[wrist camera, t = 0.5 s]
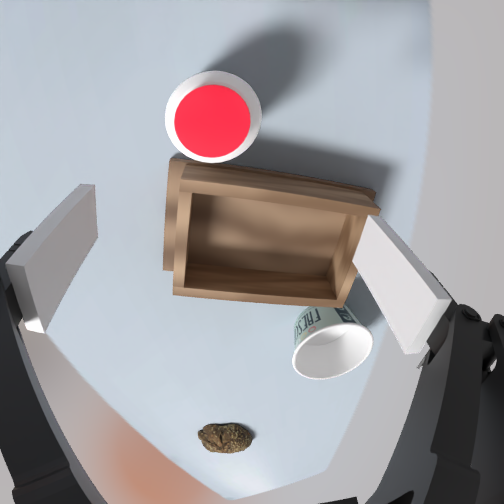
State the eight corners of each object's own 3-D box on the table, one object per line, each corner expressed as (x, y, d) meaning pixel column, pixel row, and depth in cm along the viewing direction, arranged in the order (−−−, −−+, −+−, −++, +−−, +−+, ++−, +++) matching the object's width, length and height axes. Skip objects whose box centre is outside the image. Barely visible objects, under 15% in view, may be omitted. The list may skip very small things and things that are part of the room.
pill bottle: (266, 119, 32) (285, 138, 22) (203, 156, 33) (196, 191, 24) (228, 59, 28) (230, 49, 19) (164, 99, 29) (138, 109, 20)
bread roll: (254, 440, 68) (256, 457, 64) (206, 446, 69) (206, 463, 64) (244, 418, 62) (246, 437, 57) (189, 424, 62) (189, 443, 58)
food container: (335, 353, 52) (346, 382, 46) (272, 343, 49) (278, 375, 43) (372, 301, 47) (389, 330, 41) (306, 285, 44) (318, 317, 38)
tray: (170, 158, 33) (161, 174, 28) (372, 189, 37) (395, 209, 32) (164, 265, 40) (156, 295, 35) (340, 282, 44) (354, 310, 39)
